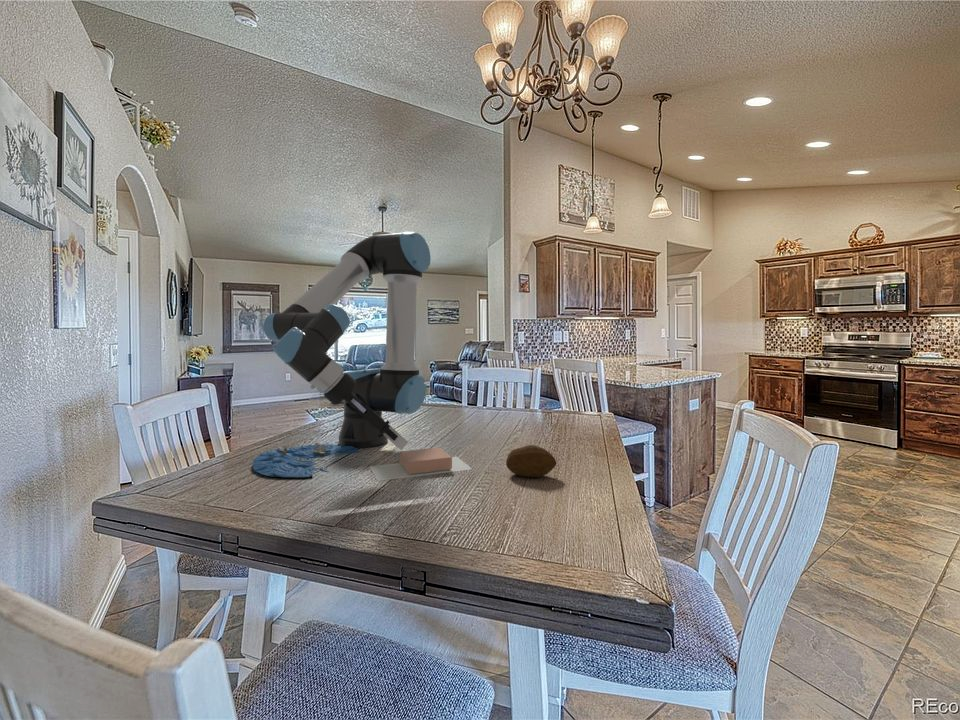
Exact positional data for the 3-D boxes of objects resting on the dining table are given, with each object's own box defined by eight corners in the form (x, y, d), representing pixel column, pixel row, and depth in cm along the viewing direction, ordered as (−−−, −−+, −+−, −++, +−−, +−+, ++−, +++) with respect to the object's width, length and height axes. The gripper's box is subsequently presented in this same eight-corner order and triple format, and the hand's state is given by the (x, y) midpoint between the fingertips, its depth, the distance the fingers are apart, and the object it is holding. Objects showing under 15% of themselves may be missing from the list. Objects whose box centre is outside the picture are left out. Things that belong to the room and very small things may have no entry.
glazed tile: (399, 451, 124) (439, 447, 128) (399, 464, 124) (439, 459, 128) (409, 462, 114) (451, 457, 119) (409, 475, 115) (451, 470, 119)
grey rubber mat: (369, 469, 122) (369, 466, 122) (456, 459, 131) (456, 456, 131) (377, 484, 111) (377, 480, 111) (472, 472, 120) (472, 469, 120)
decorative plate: (382, 453, 142) (382, 436, 142) (343, 487, 113) (344, 465, 112) (288, 446, 145) (289, 430, 145) (227, 477, 116) (227, 456, 115)
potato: (505, 470, 122) (505, 440, 121) (553, 471, 122) (554, 441, 121) (506, 480, 114) (506, 449, 113) (557, 481, 114) (558, 450, 113)
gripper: (320, 390, 116) (388, 450, 124) (324, 398, 104) (399, 464, 112) (342, 368, 118) (408, 428, 126) (348, 374, 106) (421, 440, 114)
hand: (404, 445), depth 119 cm, fingers closed
